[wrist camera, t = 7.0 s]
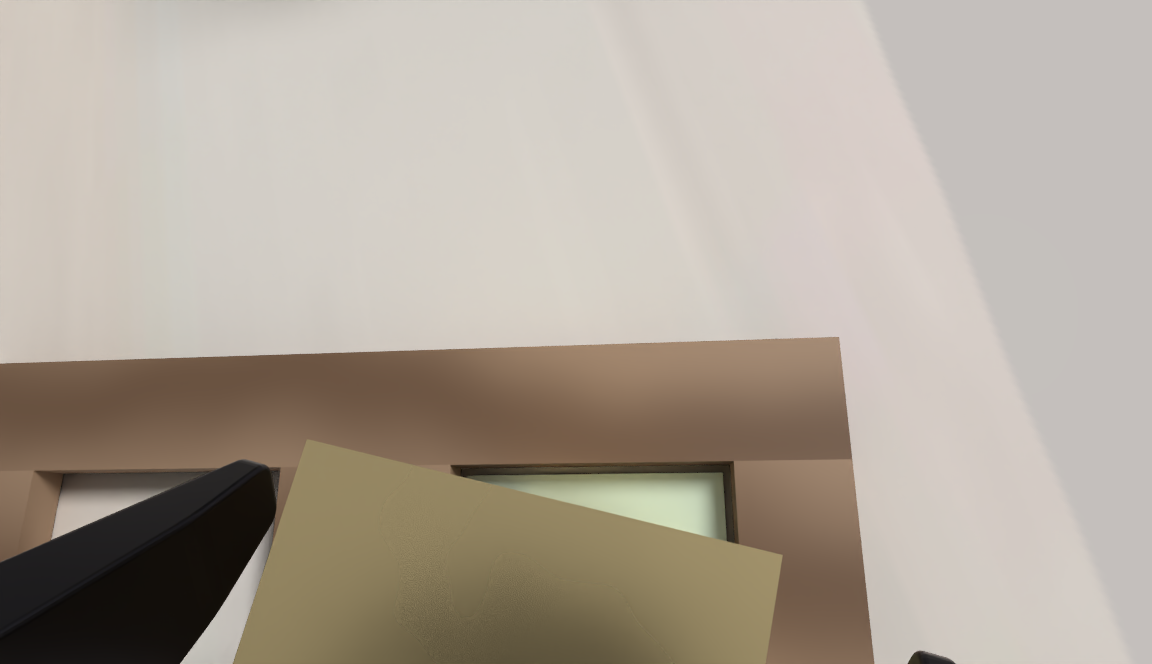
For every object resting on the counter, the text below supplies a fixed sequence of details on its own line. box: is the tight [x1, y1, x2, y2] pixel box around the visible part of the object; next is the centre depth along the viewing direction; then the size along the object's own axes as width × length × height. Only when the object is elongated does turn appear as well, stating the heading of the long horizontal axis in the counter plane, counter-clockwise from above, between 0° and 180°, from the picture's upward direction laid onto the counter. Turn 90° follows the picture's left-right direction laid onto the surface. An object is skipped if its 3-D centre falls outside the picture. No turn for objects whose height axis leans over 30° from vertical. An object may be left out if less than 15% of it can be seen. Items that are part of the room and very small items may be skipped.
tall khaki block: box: [233, 439, 783, 664], centre depth 12 cm, size 4×4×12 cm
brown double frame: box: [0, 337, 874, 664], centre depth 18 cm, size 13×24×1 cm, turn 90°
